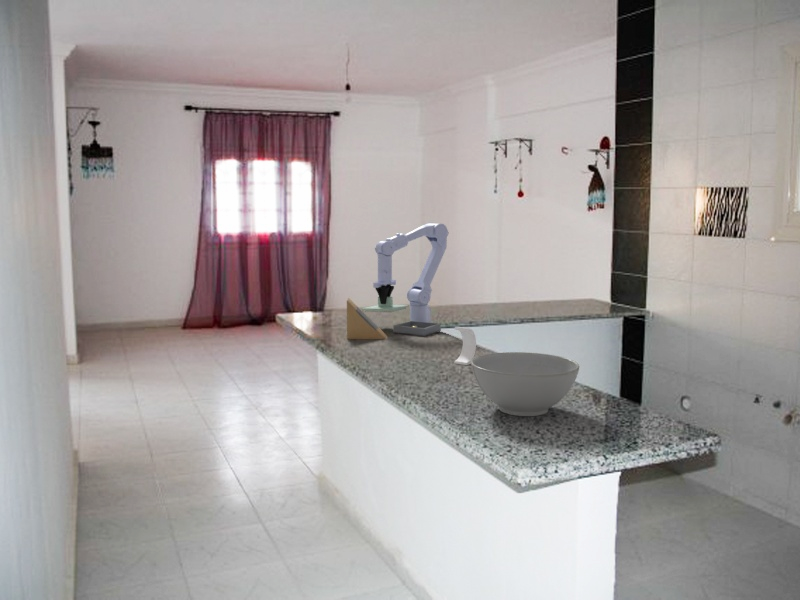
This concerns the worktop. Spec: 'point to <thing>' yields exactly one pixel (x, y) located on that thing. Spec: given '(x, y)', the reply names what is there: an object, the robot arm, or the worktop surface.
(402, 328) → the tub
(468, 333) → the headphone stand
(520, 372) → the decorative bowl
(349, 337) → the sandwich container
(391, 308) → the lid
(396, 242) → the robot arm
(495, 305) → the worktop surface
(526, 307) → the worktop surface
